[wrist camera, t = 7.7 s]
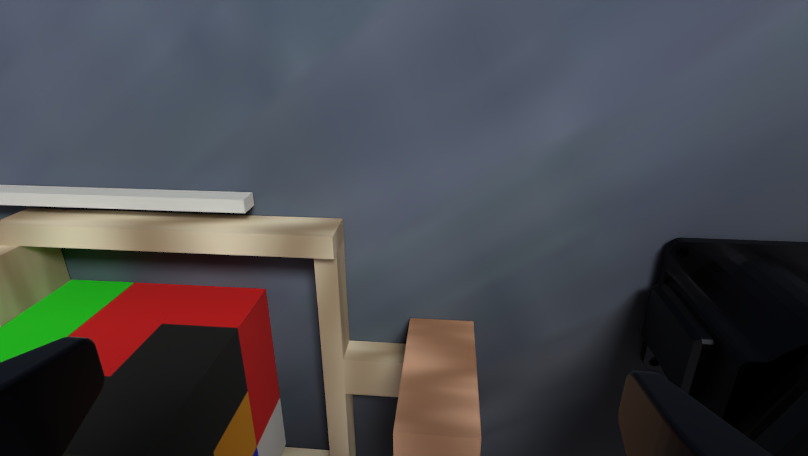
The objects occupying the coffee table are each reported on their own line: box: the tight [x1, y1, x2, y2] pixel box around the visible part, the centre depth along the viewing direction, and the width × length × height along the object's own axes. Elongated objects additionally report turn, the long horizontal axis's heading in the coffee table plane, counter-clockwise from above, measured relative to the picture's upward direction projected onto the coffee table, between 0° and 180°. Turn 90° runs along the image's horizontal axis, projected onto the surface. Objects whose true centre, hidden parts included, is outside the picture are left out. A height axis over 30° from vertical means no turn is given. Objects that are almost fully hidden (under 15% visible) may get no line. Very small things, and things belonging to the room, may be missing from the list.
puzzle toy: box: [0, 280, 286, 456], centre depth 21 cm, size 10×10×10 cm
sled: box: [0, 208, 481, 456], centre depth 21 cm, size 21×15×7 cm
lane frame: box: [0, 185, 254, 213], centre depth 26 cm, size 19×24×1 cm
